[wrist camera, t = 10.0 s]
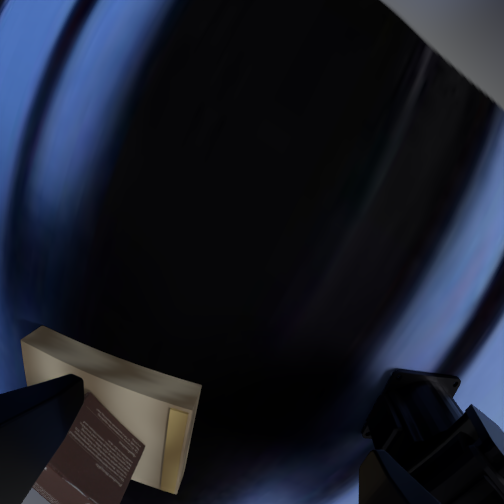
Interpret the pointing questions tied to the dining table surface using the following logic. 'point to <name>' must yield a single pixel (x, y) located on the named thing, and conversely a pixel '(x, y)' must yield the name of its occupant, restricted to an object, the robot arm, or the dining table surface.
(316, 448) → the dining table surface
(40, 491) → the box
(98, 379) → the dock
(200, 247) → the dining table surface
